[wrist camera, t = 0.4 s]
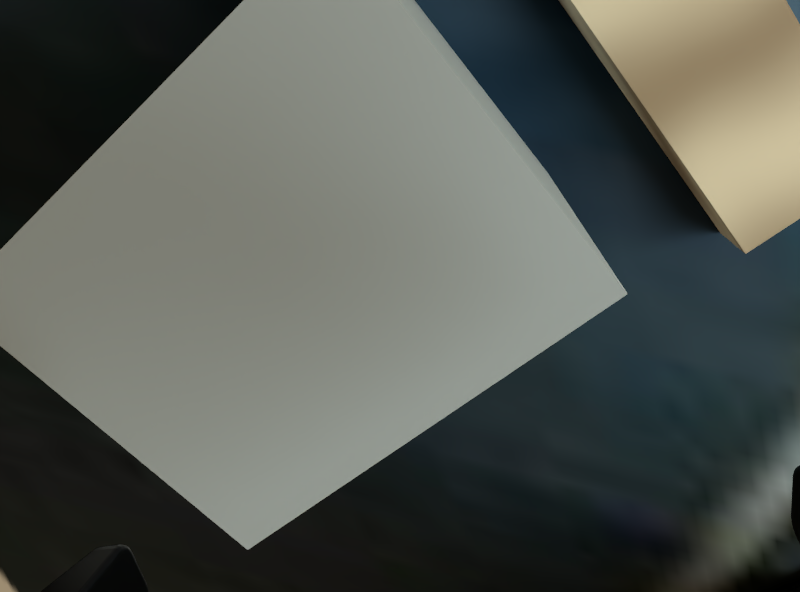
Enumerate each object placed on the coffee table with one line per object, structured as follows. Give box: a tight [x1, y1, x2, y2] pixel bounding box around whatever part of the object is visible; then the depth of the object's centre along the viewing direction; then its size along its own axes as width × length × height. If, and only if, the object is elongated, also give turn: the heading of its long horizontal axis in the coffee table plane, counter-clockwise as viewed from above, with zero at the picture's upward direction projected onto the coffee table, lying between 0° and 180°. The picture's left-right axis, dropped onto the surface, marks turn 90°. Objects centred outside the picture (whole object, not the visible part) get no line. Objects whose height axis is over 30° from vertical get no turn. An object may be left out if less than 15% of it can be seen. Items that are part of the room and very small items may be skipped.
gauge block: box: [0, 0, 627, 550], centre depth 17 cm, size 8×10×9 cm
